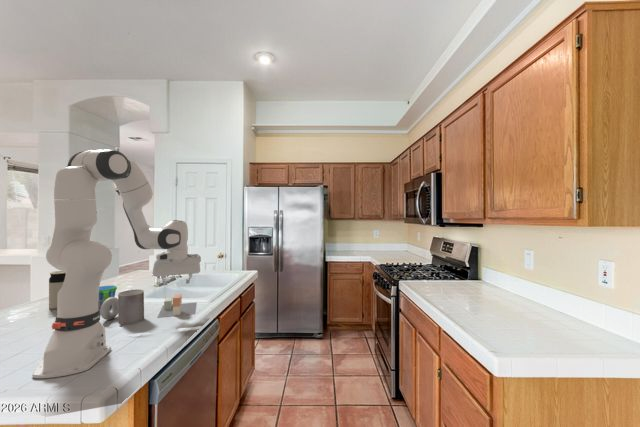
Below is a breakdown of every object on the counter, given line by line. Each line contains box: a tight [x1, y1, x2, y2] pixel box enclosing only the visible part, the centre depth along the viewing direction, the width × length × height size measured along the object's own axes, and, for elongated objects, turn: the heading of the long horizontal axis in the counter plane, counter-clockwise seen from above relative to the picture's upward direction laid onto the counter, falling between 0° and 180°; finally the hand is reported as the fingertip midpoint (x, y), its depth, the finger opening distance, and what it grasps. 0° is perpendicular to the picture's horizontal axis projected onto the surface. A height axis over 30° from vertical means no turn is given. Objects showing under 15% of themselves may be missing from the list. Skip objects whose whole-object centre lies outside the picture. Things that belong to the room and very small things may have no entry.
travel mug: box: [48, 270, 66, 310], centre depth 157 cm, size 8×8×18 cm
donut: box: [99, 296, 118, 321], centre depth 140 cm, size 10×4×10 cm, turn 175°
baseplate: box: [156, 301, 197, 319], centre depth 150 cm, size 20×16×1 cm
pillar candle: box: [117, 288, 145, 328], centre depth 135 cm, size 10×10×15 cm
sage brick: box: [163, 297, 173, 310], centre depth 153 cm, size 6×3×4 cm, turn 20°
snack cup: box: [98, 285, 118, 310], centre depth 157 cm, size 16×10×10 cm
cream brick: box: [173, 305, 181, 317], centre depth 145 cm, size 6×3×4 cm, turn 20°
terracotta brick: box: [172, 294, 183, 307], centre depth 145 cm, size 6×3×4 cm, turn 17°
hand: (176, 284), depth 144 cm, fingers open, 8 cm apart
